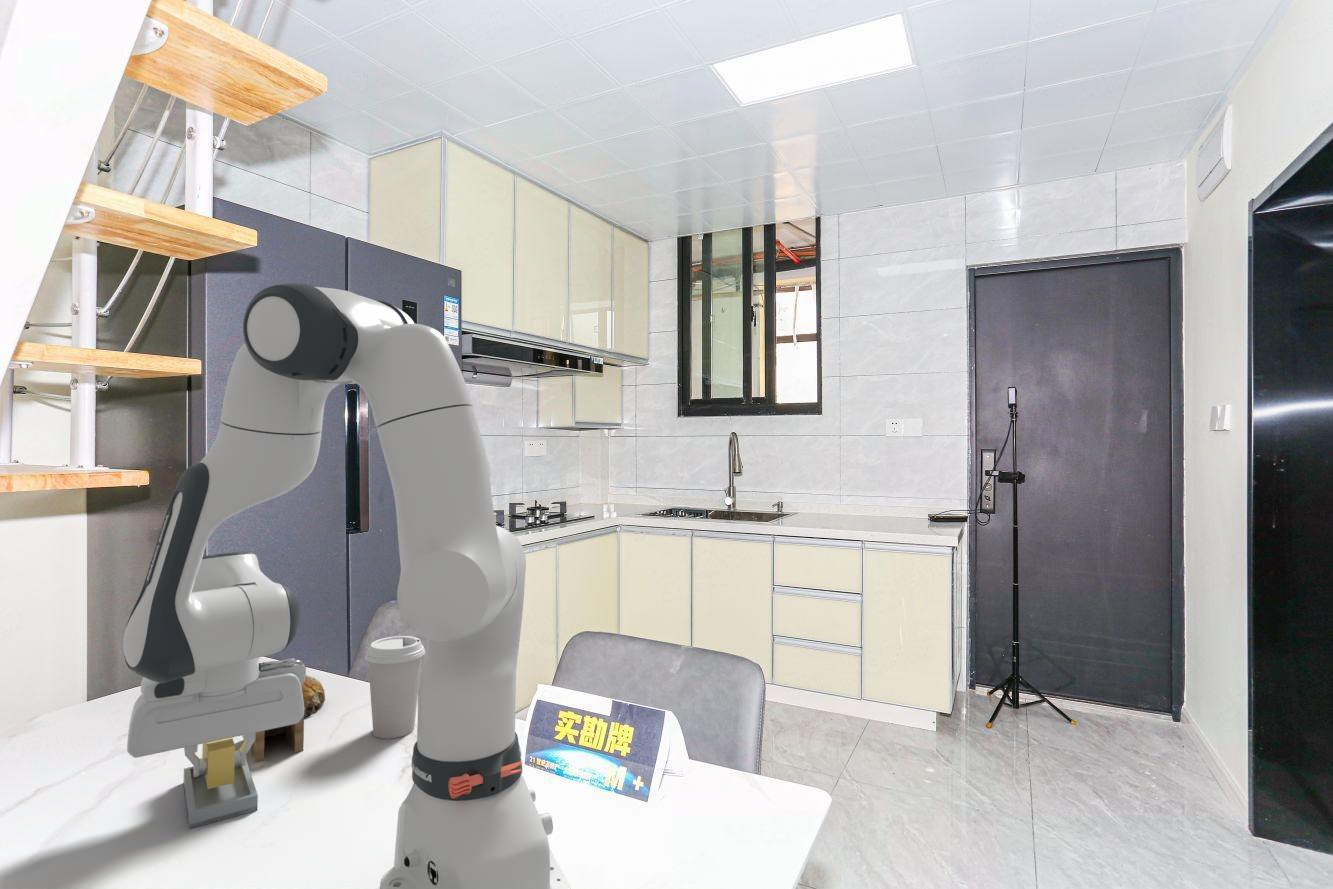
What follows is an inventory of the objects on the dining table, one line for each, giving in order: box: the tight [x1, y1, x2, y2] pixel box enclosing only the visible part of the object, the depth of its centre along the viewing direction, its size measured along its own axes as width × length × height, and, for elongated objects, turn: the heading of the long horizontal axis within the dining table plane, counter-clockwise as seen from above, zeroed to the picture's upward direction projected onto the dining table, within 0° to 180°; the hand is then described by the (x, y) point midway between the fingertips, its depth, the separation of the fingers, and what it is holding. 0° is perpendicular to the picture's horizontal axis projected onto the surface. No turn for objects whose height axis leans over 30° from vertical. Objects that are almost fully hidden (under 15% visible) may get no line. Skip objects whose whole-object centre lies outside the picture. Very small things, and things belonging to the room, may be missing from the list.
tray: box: [183, 759, 259, 830], centre depth 93 cm, size 14×7×2 cm, turn 38°
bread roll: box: [301, 674, 326, 718], centre depth 123 cm, size 10×10×8 cm
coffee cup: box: [364, 635, 426, 740], centre depth 115 cm, size 10×10×15 cm
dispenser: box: [249, 707, 307, 763], centre depth 109 cm, size 10×7×6 cm
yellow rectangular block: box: [201, 737, 236, 789], centre depth 95 cm, size 10×3×5 cm, turn 38°
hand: (219, 769), depth 93 cm, fingers closed on yellow rectangular block, 3 cm apart
